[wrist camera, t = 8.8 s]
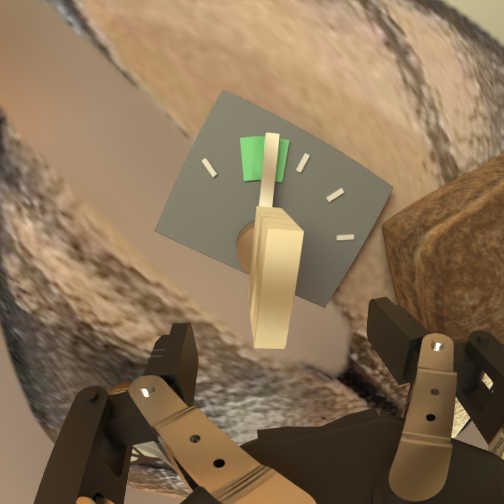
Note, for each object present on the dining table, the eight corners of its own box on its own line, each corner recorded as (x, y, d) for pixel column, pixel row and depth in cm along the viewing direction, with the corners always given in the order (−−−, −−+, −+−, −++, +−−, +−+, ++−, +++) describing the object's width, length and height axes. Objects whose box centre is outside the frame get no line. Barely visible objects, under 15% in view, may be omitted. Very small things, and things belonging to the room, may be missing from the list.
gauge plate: (320, 300, 29) (325, 308, 27) (158, 227, 26) (153, 231, 24) (385, 185, 26) (394, 187, 24) (223, 93, 22) (222, 88, 21)
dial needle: (279, 283, 26) (303, 348, 17) (233, 280, 26) (234, 347, 16) (296, 137, 22) (337, 124, 13) (246, 131, 22) (255, 112, 13)
